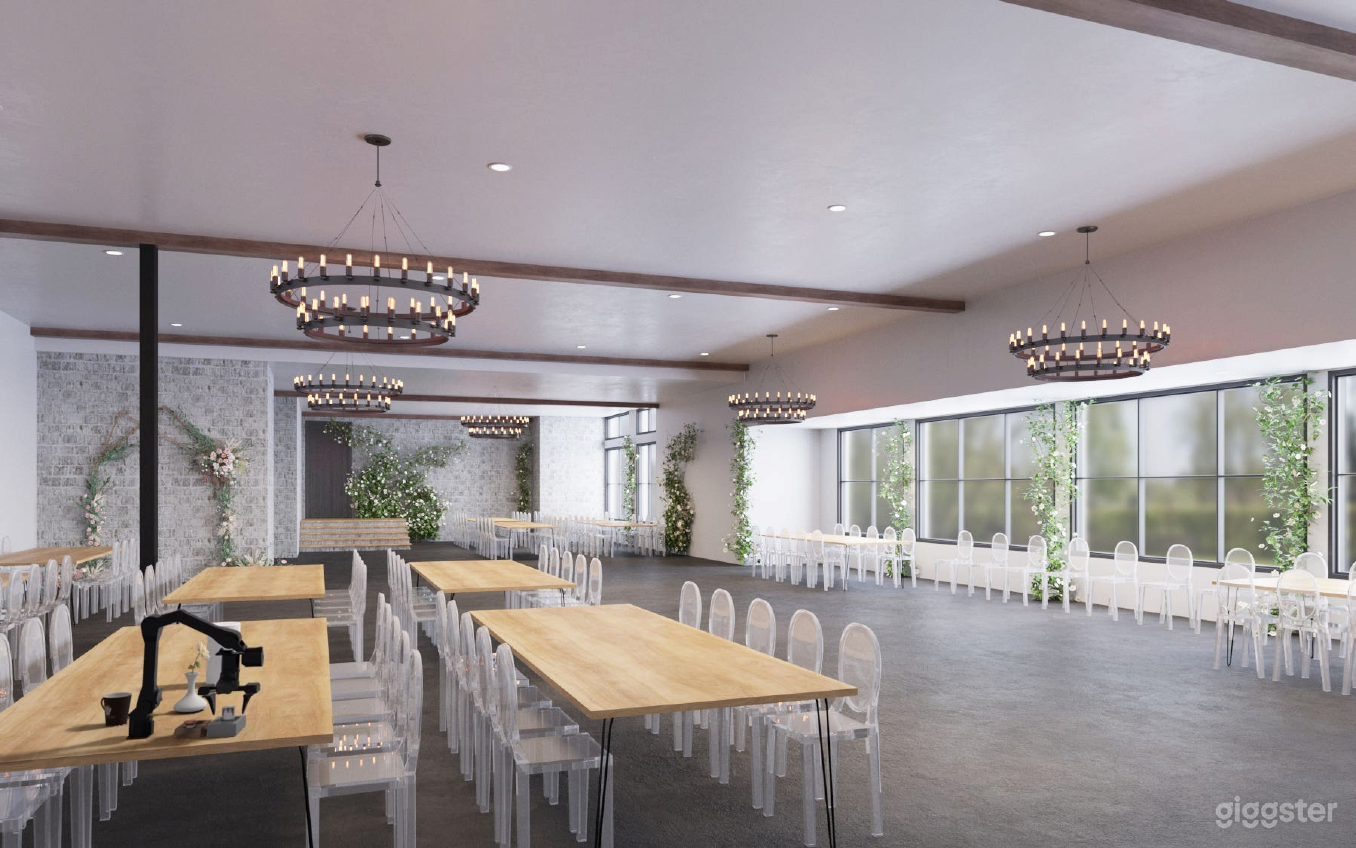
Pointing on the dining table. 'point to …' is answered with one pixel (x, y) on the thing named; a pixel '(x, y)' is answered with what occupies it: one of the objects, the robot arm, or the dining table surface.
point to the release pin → (190, 723)
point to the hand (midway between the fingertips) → (228, 714)
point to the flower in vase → (193, 686)
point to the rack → (226, 727)
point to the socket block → (192, 730)
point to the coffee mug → (116, 708)
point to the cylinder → (213, 647)
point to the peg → (228, 713)
